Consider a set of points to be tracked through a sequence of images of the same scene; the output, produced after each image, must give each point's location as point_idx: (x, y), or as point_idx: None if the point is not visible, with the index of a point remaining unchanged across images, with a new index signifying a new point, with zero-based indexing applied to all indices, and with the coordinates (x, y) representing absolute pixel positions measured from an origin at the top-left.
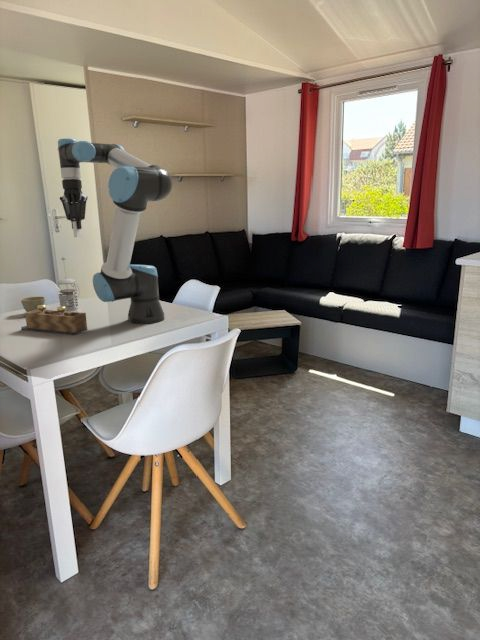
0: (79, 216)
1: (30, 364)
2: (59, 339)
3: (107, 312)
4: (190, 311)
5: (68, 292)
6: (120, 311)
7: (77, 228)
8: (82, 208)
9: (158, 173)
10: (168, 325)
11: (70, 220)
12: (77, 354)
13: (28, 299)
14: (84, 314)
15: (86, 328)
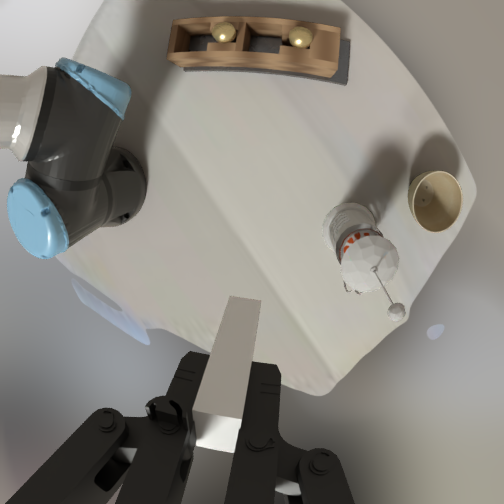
0: (96, 440)
1: None
2: (201, 4)
3: (238, 230)
4: (82, 264)
5: (349, 234)
6: (211, 245)
7: (207, 359)
8: (24, 498)
9: None
10: None
11: (290, 446)
12: None
13: (454, 215)
14: (168, 55)
15: (184, 68)
